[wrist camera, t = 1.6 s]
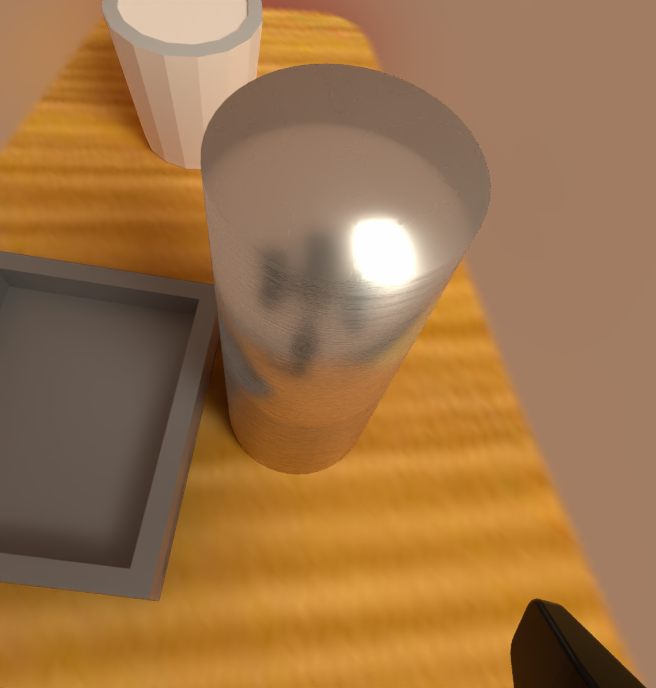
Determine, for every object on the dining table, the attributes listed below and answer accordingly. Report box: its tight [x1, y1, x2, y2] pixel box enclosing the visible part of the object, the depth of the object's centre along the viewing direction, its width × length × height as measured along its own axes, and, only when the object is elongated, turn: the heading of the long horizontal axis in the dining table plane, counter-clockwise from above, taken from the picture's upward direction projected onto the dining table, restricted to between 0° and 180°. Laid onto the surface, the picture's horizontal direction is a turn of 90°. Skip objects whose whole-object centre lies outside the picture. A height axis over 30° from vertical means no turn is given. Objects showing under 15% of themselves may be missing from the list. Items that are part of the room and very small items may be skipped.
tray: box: [0, 251, 220, 601], centre depth 21 cm, size 12×10×2 cm
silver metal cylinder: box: [200, 64, 491, 474], centre depth 17 cm, size 6×6×14 cm
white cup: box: [102, 0, 262, 169], centre depth 27 cm, size 7×7×7 cm
